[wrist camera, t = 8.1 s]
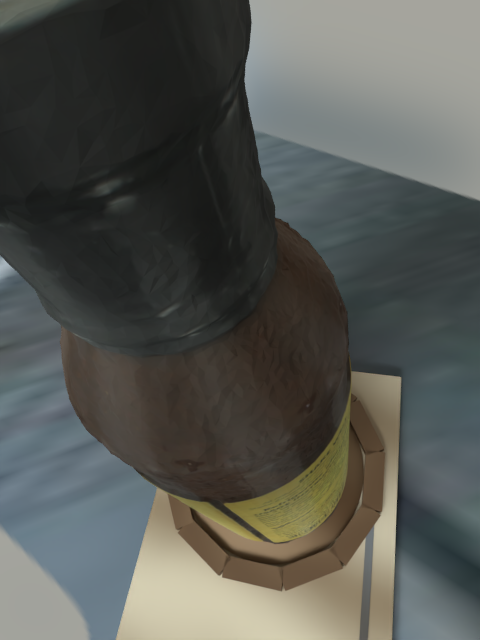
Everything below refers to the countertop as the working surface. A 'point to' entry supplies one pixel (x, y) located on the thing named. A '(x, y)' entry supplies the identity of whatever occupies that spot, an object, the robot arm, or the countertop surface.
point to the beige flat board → (281, 555)
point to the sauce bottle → (172, 258)
